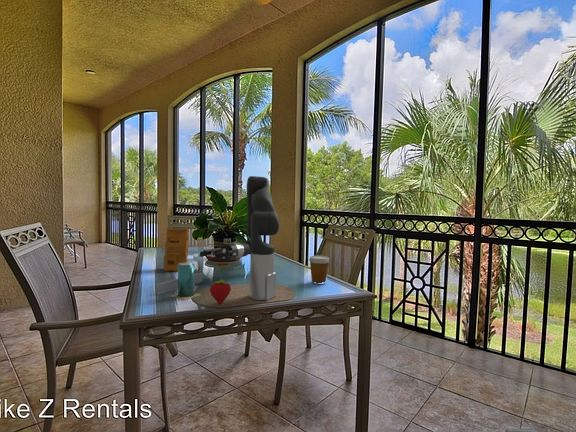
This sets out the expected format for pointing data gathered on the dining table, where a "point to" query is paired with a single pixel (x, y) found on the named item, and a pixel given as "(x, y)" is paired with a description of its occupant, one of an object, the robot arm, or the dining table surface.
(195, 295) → the coaster
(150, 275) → the dining table surface
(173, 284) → the acrylic wall
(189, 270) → the can
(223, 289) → the strawberry
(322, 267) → the glass of beer
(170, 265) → the coffee package
